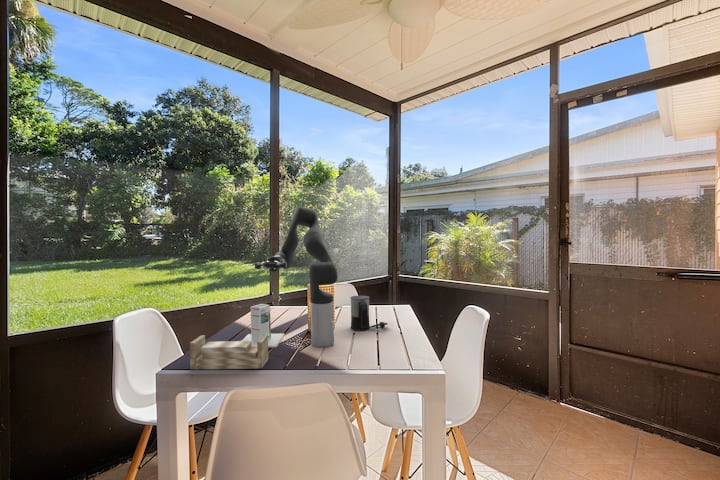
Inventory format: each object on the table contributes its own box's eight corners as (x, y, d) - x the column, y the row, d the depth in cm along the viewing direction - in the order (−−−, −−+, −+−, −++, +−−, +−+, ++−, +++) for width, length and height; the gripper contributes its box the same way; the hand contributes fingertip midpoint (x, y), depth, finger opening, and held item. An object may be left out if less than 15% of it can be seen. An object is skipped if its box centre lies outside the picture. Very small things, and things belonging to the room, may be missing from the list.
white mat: (284, 334, 149) (284, 333, 149) (276, 347, 133) (276, 346, 133) (248, 335, 148) (248, 333, 148) (235, 348, 132) (235, 346, 132)
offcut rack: (268, 359, 121) (267, 334, 120) (262, 368, 113) (261, 342, 112) (201, 360, 120) (200, 335, 120) (190, 369, 112) (189, 342, 112)
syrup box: (260, 342, 137) (260, 307, 136) (250, 340, 140) (250, 305, 139) (271, 338, 141) (270, 304, 141) (261, 336, 145) (260, 303, 144)
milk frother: (346, 327, 160) (346, 296, 159) (374, 322, 168) (374, 292, 167) (362, 335, 147) (362, 301, 147) (391, 329, 156) (391, 297, 155)
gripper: (261, 256, 167) (251, 258, 150) (289, 255, 167) (282, 258, 151) (261, 271, 167) (251, 275, 151) (290, 270, 167) (283, 275, 151)
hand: (267, 267), depth 151 cm, fingers open, 8 cm apart
